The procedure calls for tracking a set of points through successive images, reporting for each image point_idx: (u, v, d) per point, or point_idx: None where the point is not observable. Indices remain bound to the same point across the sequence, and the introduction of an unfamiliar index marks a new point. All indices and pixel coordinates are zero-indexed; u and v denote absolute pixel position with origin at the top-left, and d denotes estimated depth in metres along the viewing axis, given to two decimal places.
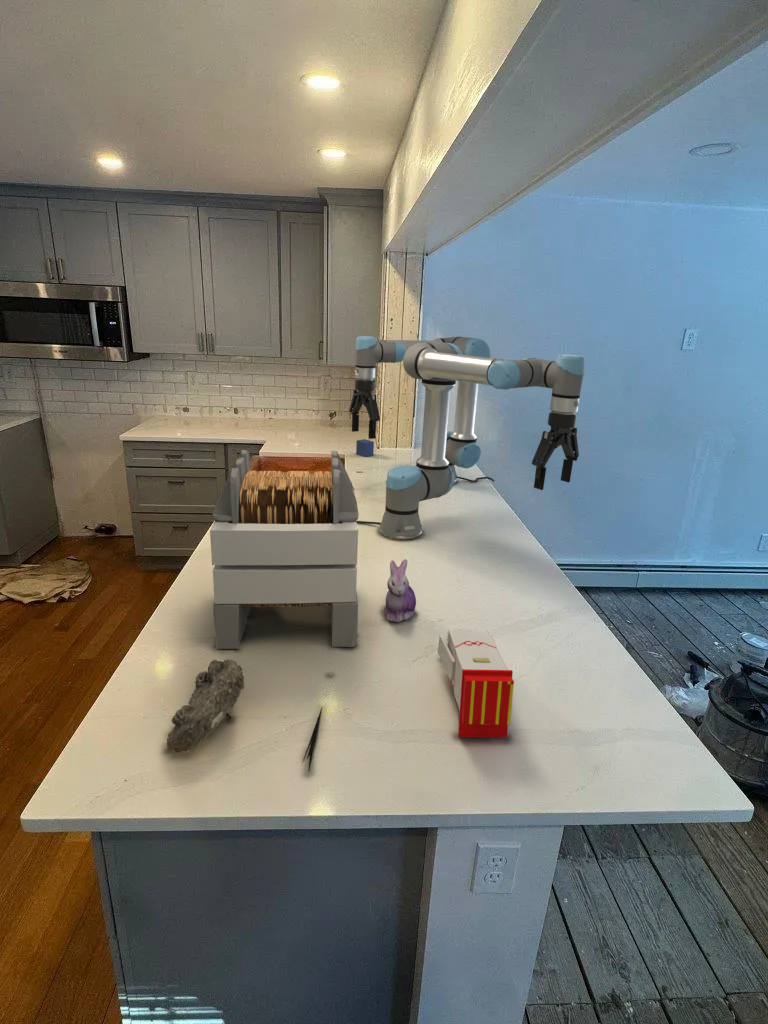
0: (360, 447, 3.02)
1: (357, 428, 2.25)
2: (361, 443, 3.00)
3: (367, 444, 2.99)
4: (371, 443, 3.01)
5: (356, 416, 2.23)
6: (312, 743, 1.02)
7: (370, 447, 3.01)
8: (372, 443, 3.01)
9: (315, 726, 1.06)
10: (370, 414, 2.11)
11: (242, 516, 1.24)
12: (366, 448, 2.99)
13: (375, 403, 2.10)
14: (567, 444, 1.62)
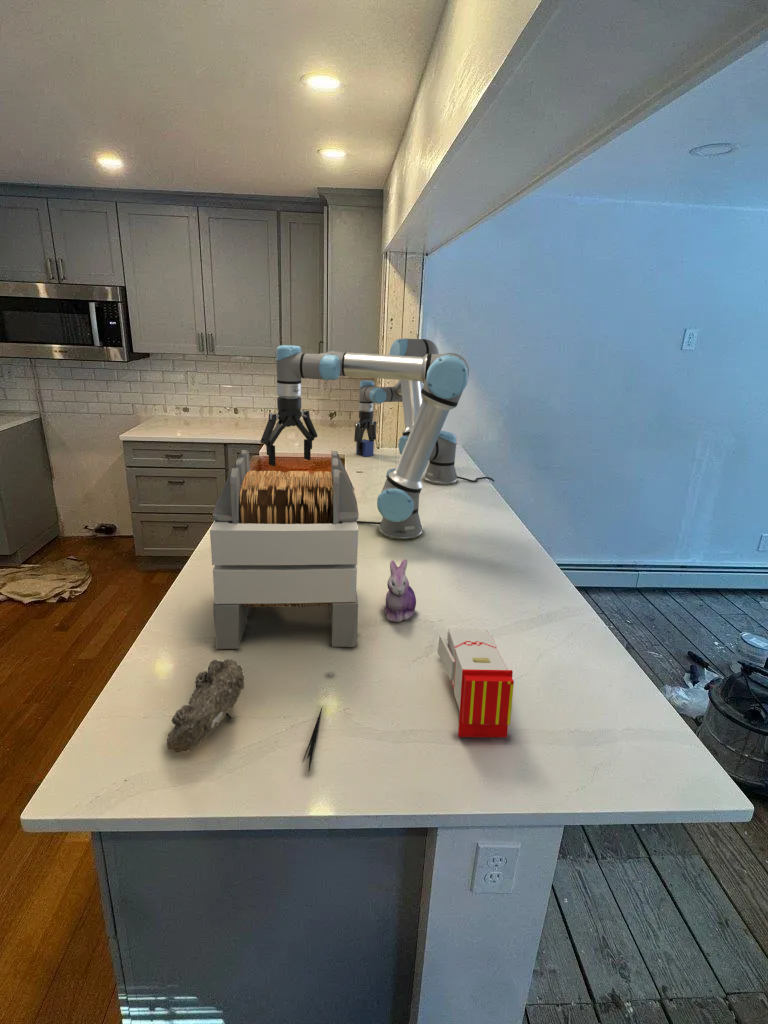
0: None
1: None
2: None
3: (367, 444, 2.99)
4: (371, 443, 3.01)
5: None
6: (312, 743, 1.02)
7: (370, 447, 3.01)
8: (372, 443, 3.01)
9: (315, 726, 1.06)
10: (372, 436, 3.03)
11: (242, 516, 1.24)
12: (366, 448, 2.99)
13: None
14: (299, 425, 1.82)
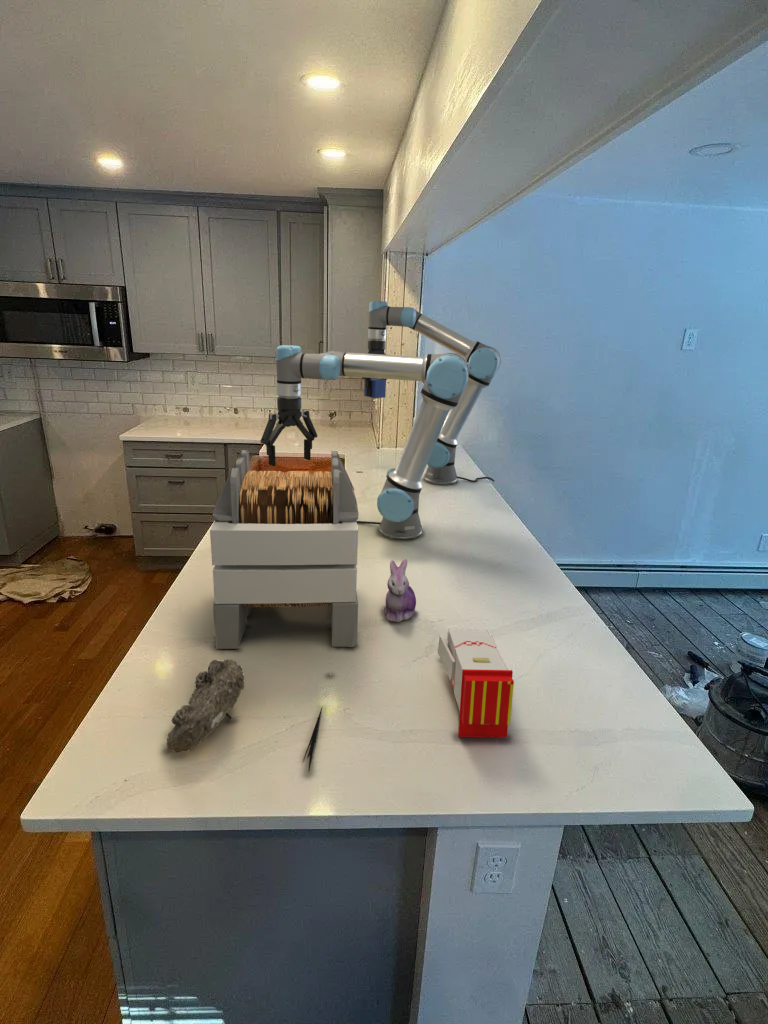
0: None
1: None
2: None
3: (378, 382, 2.41)
4: (383, 381, 2.42)
5: None
6: (312, 743, 1.02)
7: (381, 386, 2.43)
8: (384, 381, 2.43)
9: (315, 726, 1.06)
10: None
11: (242, 516, 1.24)
12: (376, 387, 2.41)
13: None
14: (299, 425, 1.82)
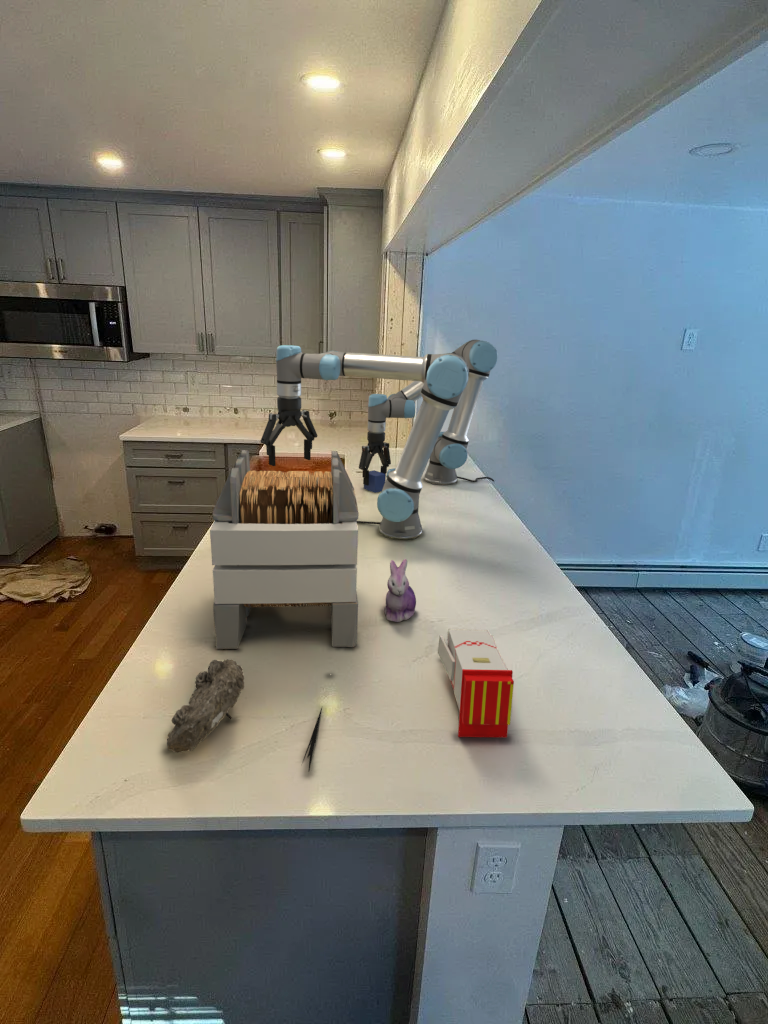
0: None
1: None
2: (370, 476, 2.43)
3: (377, 477, 2.41)
4: (382, 476, 2.43)
5: None
6: (312, 743, 1.02)
7: (381, 481, 2.43)
8: (383, 476, 2.44)
9: (315, 726, 1.06)
10: (386, 460, 2.46)
11: (242, 516, 1.24)
12: (376, 482, 2.42)
13: None
14: (299, 425, 1.82)
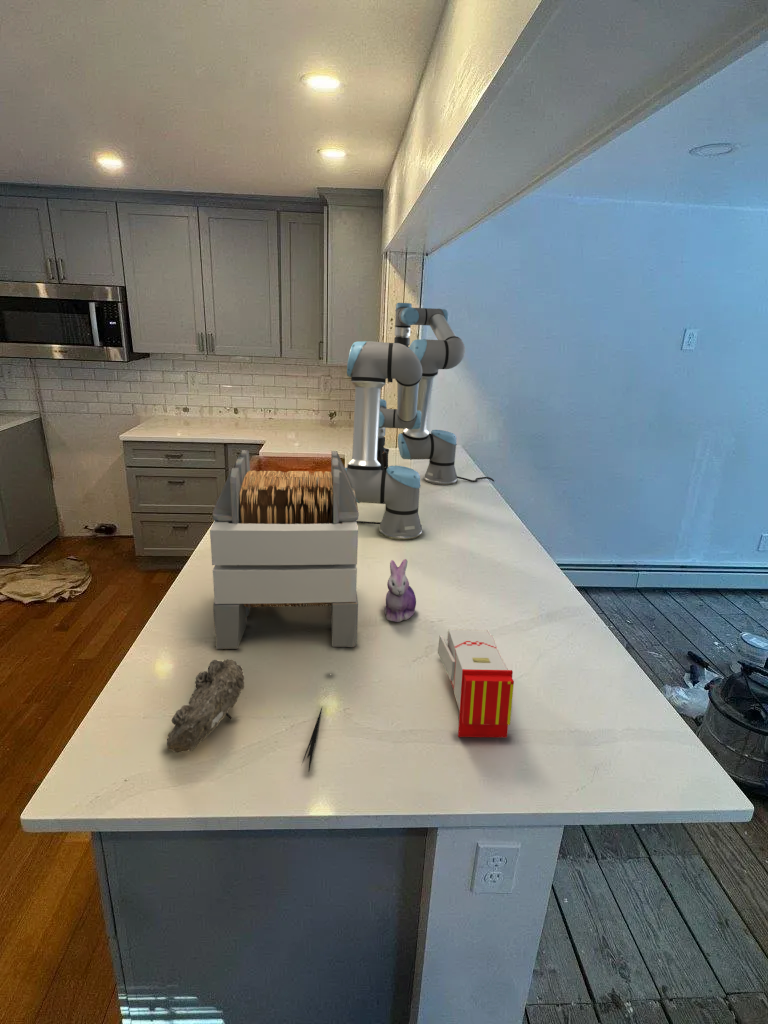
0: None
1: None
2: None
3: None
4: None
5: None
6: (312, 743, 1.02)
7: None
8: None
9: (315, 726, 1.06)
10: None
11: (242, 516, 1.24)
12: None
13: None
14: (380, 458, 2.43)
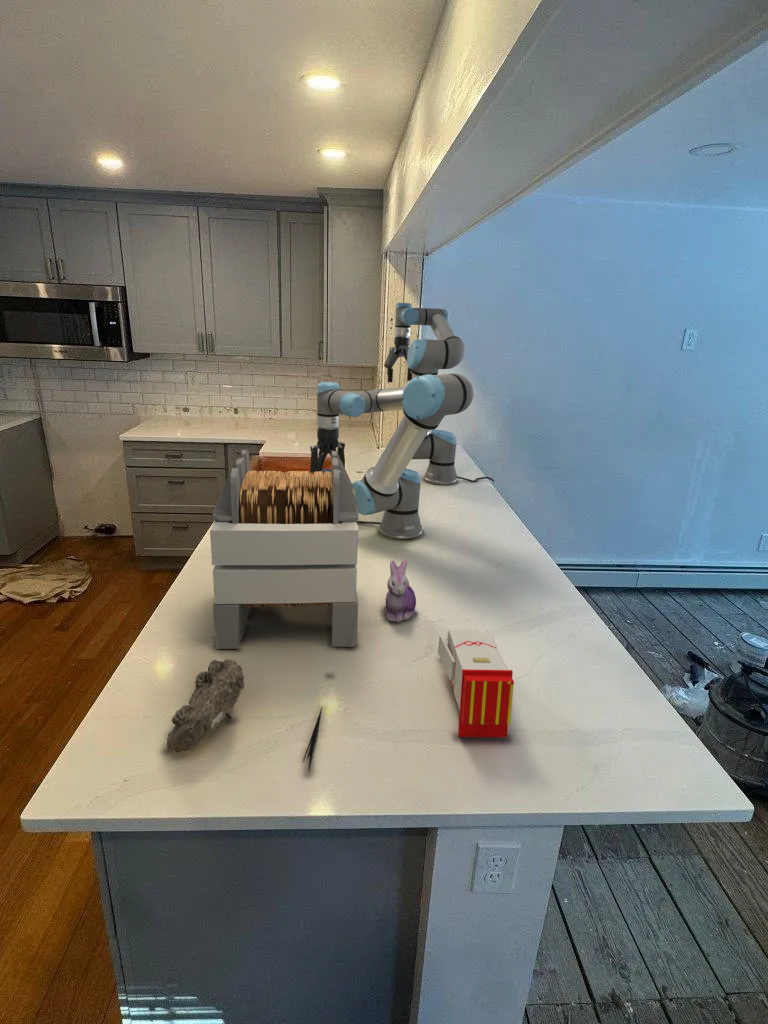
0: None
1: None
2: None
3: None
4: None
5: None
6: (312, 743, 1.02)
7: None
8: None
9: (315, 726, 1.06)
10: None
11: (242, 516, 1.24)
12: None
13: None
14: None
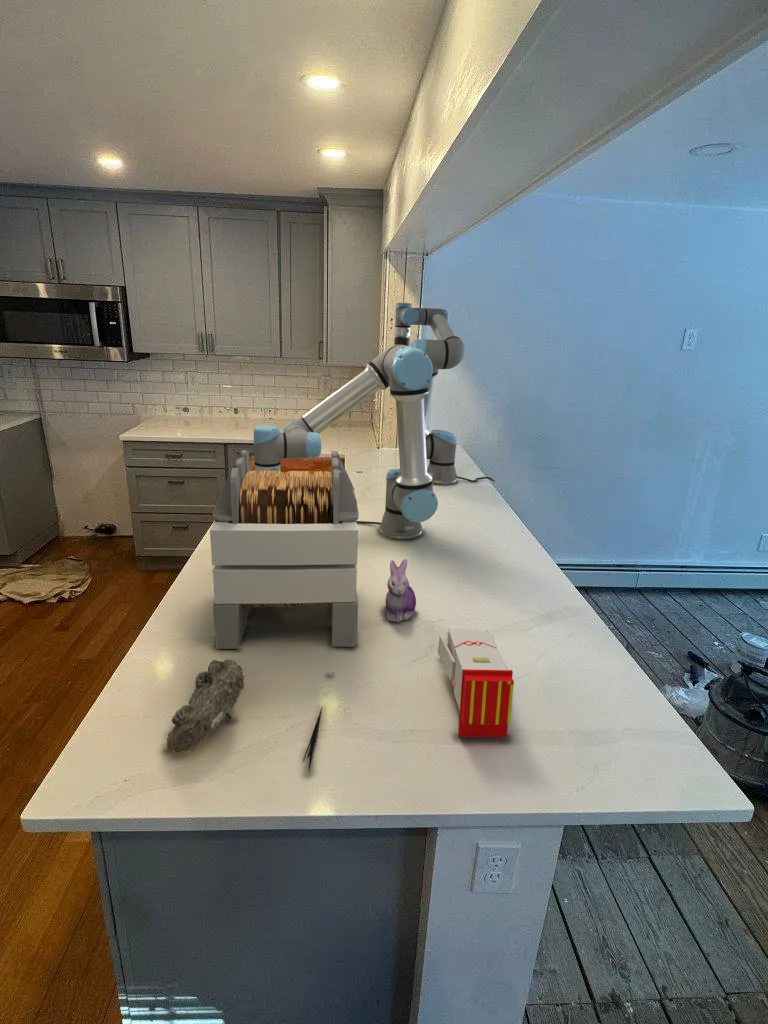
0: None
1: None
2: None
3: None
4: None
5: None
6: (312, 743, 1.02)
7: None
8: None
9: (315, 726, 1.06)
10: None
11: (242, 516, 1.24)
12: None
13: None
14: None
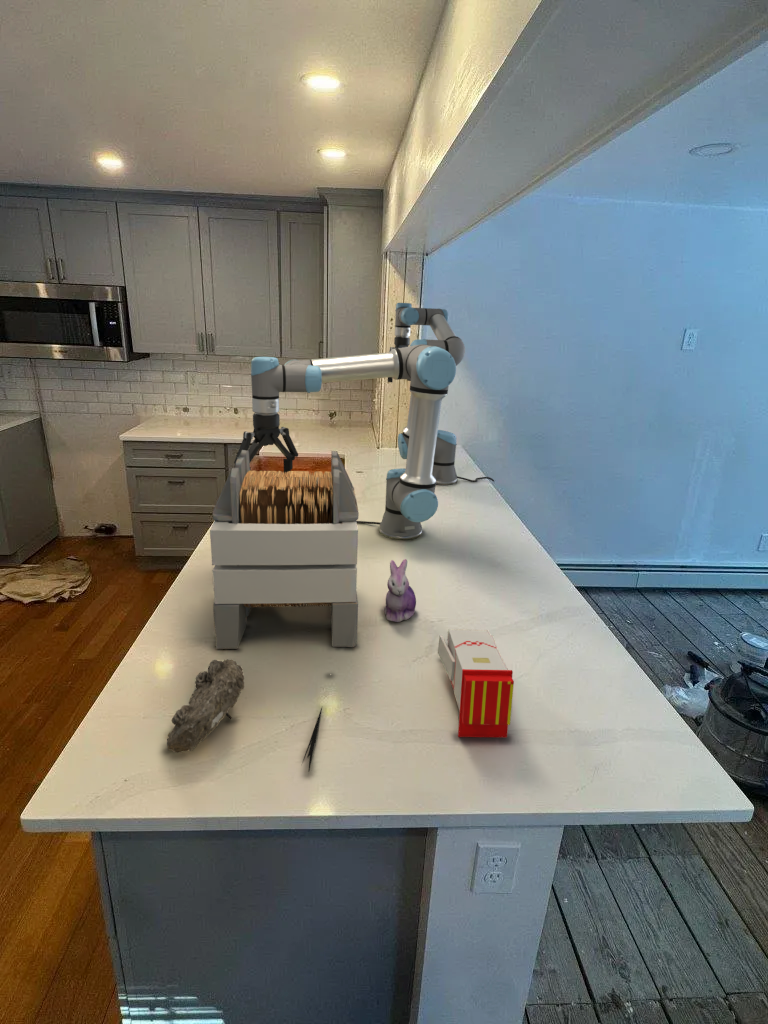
0: None
1: None
2: None
3: None
4: None
5: None
6: (312, 743, 1.02)
7: None
8: None
9: (315, 726, 1.06)
10: None
11: (242, 516, 1.24)
12: None
13: None
14: (277, 444, 1.66)
